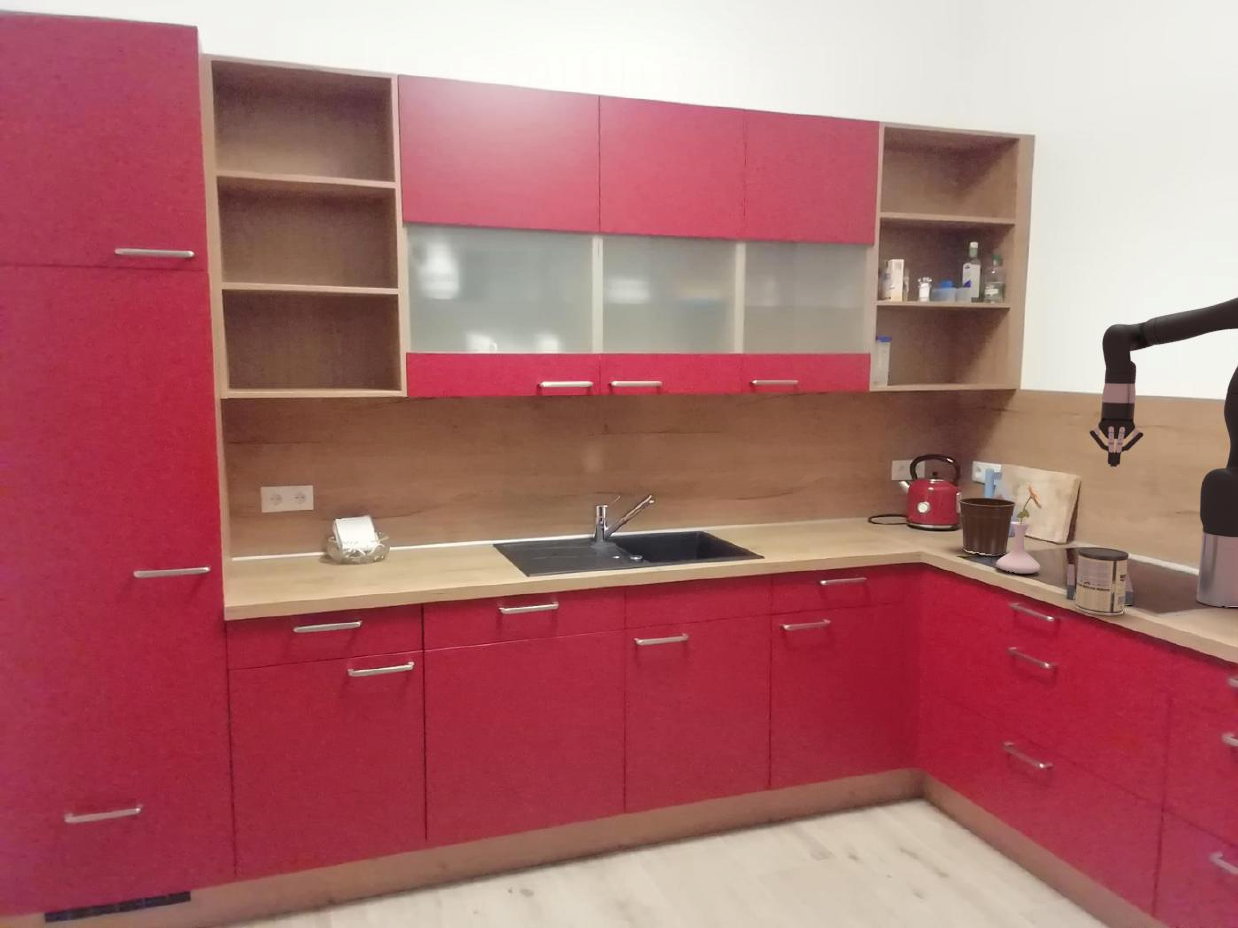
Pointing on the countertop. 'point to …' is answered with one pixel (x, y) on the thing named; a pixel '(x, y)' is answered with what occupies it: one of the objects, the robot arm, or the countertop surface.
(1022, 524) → the flower in vase
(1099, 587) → the coffee can
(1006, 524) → the plant pot
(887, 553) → the countertop surface
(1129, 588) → the grey frame
